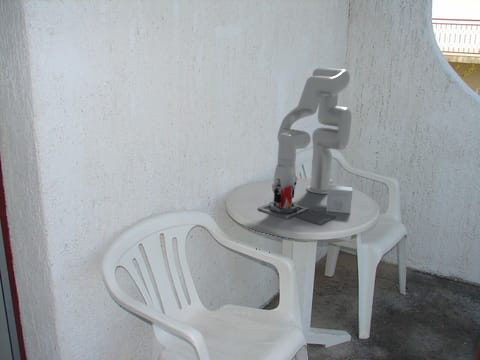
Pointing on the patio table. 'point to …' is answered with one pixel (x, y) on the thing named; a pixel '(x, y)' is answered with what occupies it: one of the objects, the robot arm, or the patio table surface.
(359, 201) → the patio table surface
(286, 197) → the soda can
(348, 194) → the skincare box
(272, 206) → the collar
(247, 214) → the patio table surface
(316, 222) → the mat
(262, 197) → the patio table surface
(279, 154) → the robot arm
